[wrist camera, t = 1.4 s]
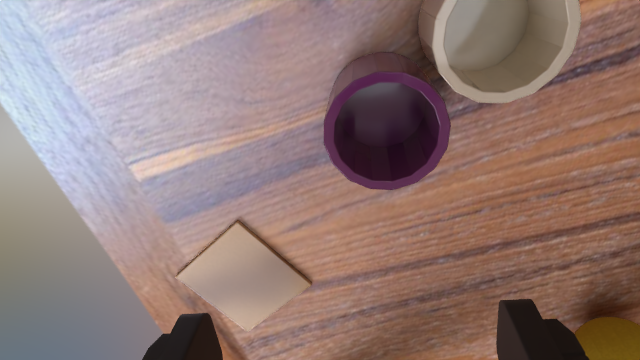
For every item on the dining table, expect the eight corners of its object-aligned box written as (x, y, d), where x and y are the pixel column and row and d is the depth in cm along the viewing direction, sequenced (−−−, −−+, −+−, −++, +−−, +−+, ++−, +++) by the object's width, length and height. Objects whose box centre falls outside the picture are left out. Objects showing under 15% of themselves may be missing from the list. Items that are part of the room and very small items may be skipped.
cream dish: (395, 19, 22) (404, 32, 18) (489, -72, 20) (527, -83, 16) (462, 99, 24) (487, 129, 19) (557, 22, 22) (609, 36, 17)
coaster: (176, 274, 31) (175, 277, 31) (238, 219, 29) (236, 222, 28) (248, 329, 33) (247, 332, 33) (311, 282, 30) (311, 285, 30)
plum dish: (309, 102, 25) (298, 131, 20) (386, 28, 23) (393, 43, 18) (376, 169, 26) (379, 210, 22) (454, 106, 24) (476, 137, 20)
